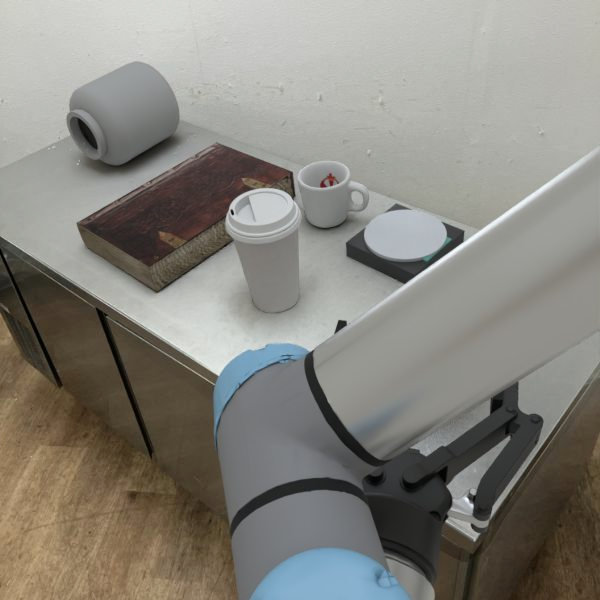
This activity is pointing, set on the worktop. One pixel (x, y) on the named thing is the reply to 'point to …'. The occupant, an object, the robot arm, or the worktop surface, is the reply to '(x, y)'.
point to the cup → (329, 193)
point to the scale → (403, 242)
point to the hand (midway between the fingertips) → (419, 339)
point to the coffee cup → (267, 246)
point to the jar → (122, 113)
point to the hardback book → (178, 214)
